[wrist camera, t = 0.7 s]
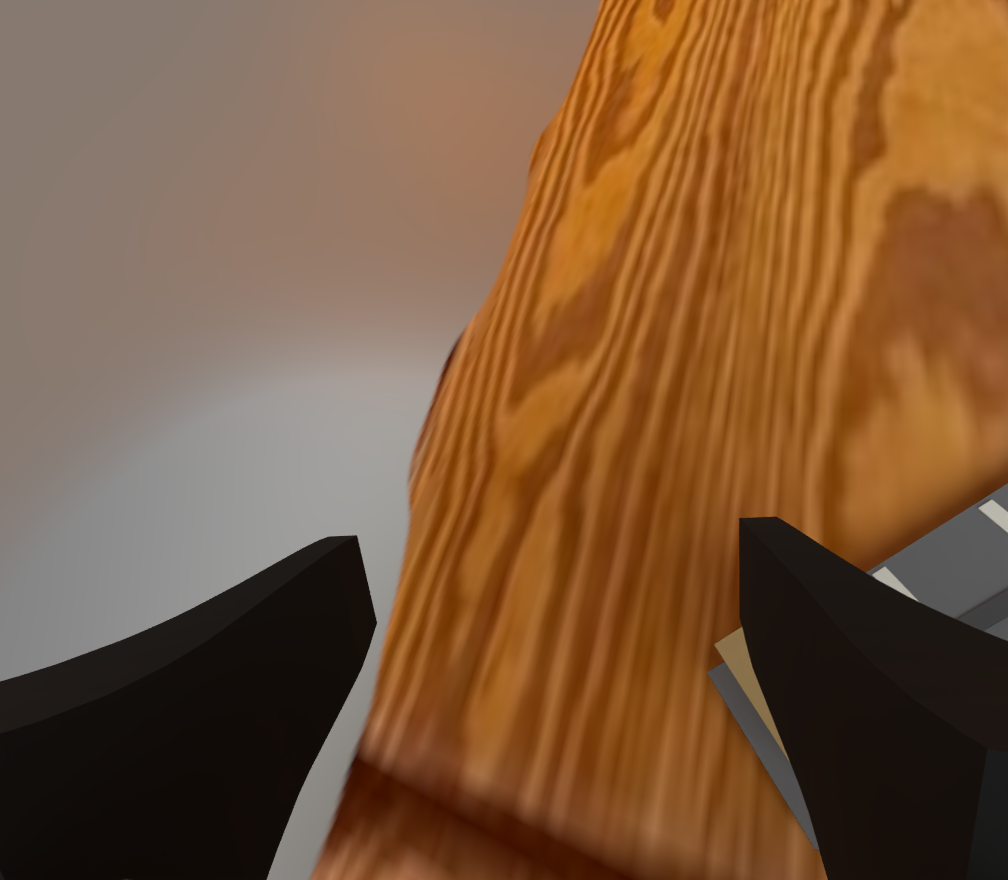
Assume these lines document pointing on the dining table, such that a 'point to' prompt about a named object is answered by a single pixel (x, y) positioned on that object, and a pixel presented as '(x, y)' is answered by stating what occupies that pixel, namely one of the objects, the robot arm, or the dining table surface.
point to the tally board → (927, 579)
